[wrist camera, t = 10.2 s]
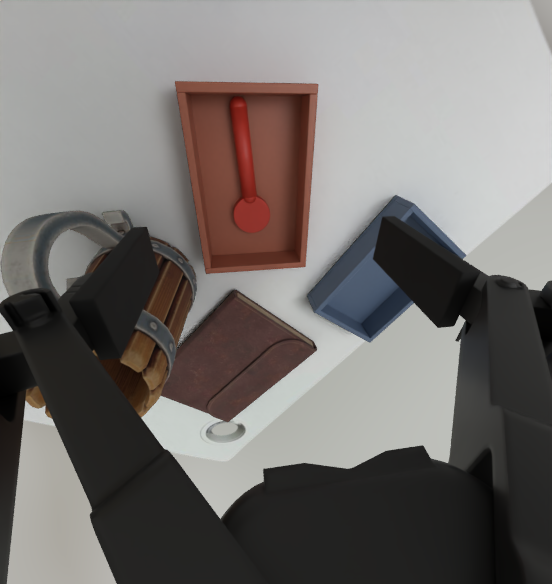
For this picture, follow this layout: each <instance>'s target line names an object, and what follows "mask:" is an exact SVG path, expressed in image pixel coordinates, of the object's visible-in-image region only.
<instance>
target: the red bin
mask: <svg viewBox="0 0 552 584" xmlns="http://www.w3.org/2000/svg"><path fill="white" fill-rule="evenodd" d="M175 86H176V91H177V98H178V104H179V110H180V116H181V123H182V129H183V135H184V141H185V147H186V154H187V160H188V166H189V172H190V178H191V185H192V191H193V197H194V203H195V209H196V215H197V222H198V228H199V234H200V240H201V246H202V253H203V259H204V265H205V271H206V274H210V273H224V272H239V271H254V270H268V269H283V268H298V267H305V266H306V251H307V236H308V222H309V208H310V194H311V179H312V165H313V151H314V137H315V122H316V108H317V93H318V84H299V83H241V82H184V81H175ZM235 96H240V97H242V98H243V99H244V100H245V101H246V104H247V111H248V120H249V129H250V138H251V147H252V156H253V165H254V174H255V183H256V192H257V195H258V196H260V197H261V198H263V199H264V200H265V201H266V203H267V205H268V207H269V210H270V220H269V222H268V224H267V226H266V227H265V228H264V229H263V230H261V231H259V232H255V233H249V232H245V231H243V230H241V229H240V228H239V227H238V226H237V225H236V223H235V220H234V215H233V210H234V206H235V204H236V202H237V201H238V200H239V199H240V198H241V197H242V192H241V185H240V177H239V170H238V163H237V156H236V149H235V142H234V135H233V128H232V121H231V113H230V101H231V100H232V98H234V97H235Z"/></svg>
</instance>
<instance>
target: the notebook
mask: <svg viewBox="0 0 552 584" xmlns="http://www.w3.org/2000/svg"><path fill="white" fill-rule="evenodd" d="M315 351H317V347H316V345H315V343H314V342H313V341H312V340H311V339H309V338H308V337H306V336H305V335H303V334H302V333H300V332H299V331H297V330H296V329H294V328H293V327H291V326H290V325H288V324H287V323H285V322H284V321H282V320H281V319H279V318H278V317H276V316H275V315H273V314H272V313H270V312H269V311H267V310H266V309H264V308H263V307H261V306H260V305H258V304H257V303H255V302H254V301H252V300H251V299H249V298H248V297H246V296H245V295H243V294H242V293H240V292H239V291H237V290H234V291H233V292H232V293H231V294H230V295H229V296H228V297H227V298H226V299H225V300H224V301H223V302H222V304H221V305H220V306H219V307H218V308H217V309H216V310H215V311H214V312H213V313H212V314H211V315H210V316H209V317H208V318H207V319H206V320H205V321H204V322H203V323H202V324H201V325H200V326H199V327H198V329H197V330H196V331H195V332H194V333H193V334H192V335H191V336H190V337H189V338H188V339H187V340H186V341H185V342H184V343H183V344H182V345H181V346H180V347H179V348H178V349H177V350H176V355H175V360H174V363H173V366H172V369H171V372H170V375H169V378H168V379H167V381H166V382H165V384H164V387H163V389H162V392H161V396H163V397H166V398H169V399H171V400H174V401H177V402H179V403H182V404H185V405H187V406H190V407H193V408H195V409H198V410H201V411H203V412H206V413H209V414H210V415H212V416H213V417H215V418H218V419H221V420H223V421H226V422H229V421H230V420H231V419H233V418H234V417H235V416H236V415H238V414H239V413H240V412H241V411H242V410H244V409H245V408H246V407H247V406H249V405H250V404H251V403H252V402H254V401H255V400H256V399H257V398H259V397H260V396H261V395H262V394H264V393H265V392H266V391H267V390H268V389H270V388H271V387H272V386H273V385H275V384H276V383H277V382H278V381H280V380H281V379H282V378H283V377H285V376H286V375H287V374H288V373H289V372H291V371H292V370H293V369H294V368H296V367H297V366H298V365H299V364H301V363H302V362H303V361H304V360H306V359H307V358H308V357H309V356H310V355H312V354H313V353H314V352H315Z"/></svg>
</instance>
